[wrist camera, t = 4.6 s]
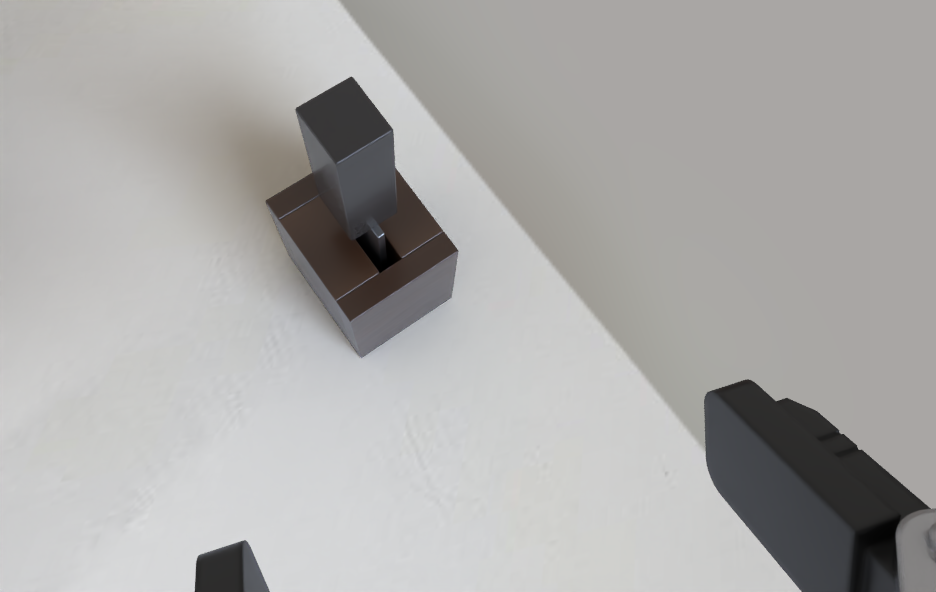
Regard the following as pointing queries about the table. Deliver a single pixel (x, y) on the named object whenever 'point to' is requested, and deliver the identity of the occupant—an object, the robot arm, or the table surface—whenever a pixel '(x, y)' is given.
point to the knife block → (367, 263)
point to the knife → (352, 163)
